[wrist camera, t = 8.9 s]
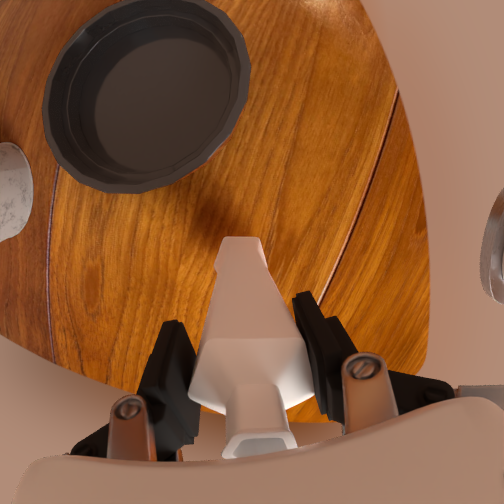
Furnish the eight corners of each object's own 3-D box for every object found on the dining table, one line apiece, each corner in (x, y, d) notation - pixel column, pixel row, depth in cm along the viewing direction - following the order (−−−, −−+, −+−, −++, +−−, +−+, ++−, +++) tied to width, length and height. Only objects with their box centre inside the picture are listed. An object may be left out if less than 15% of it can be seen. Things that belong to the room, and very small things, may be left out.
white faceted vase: (248, 214, 19) (294, 367, 5) (282, 263, 21) (360, 441, 6) (195, 251, 20) (137, 433, 6) (230, 296, 21) (235, 487, 7)
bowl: (225, 1, 15) (225, -28, 11) (264, 160, 20) (273, 160, 16) (66, 57, 15) (38, 44, 11) (91, 207, 20) (63, 220, 16)
